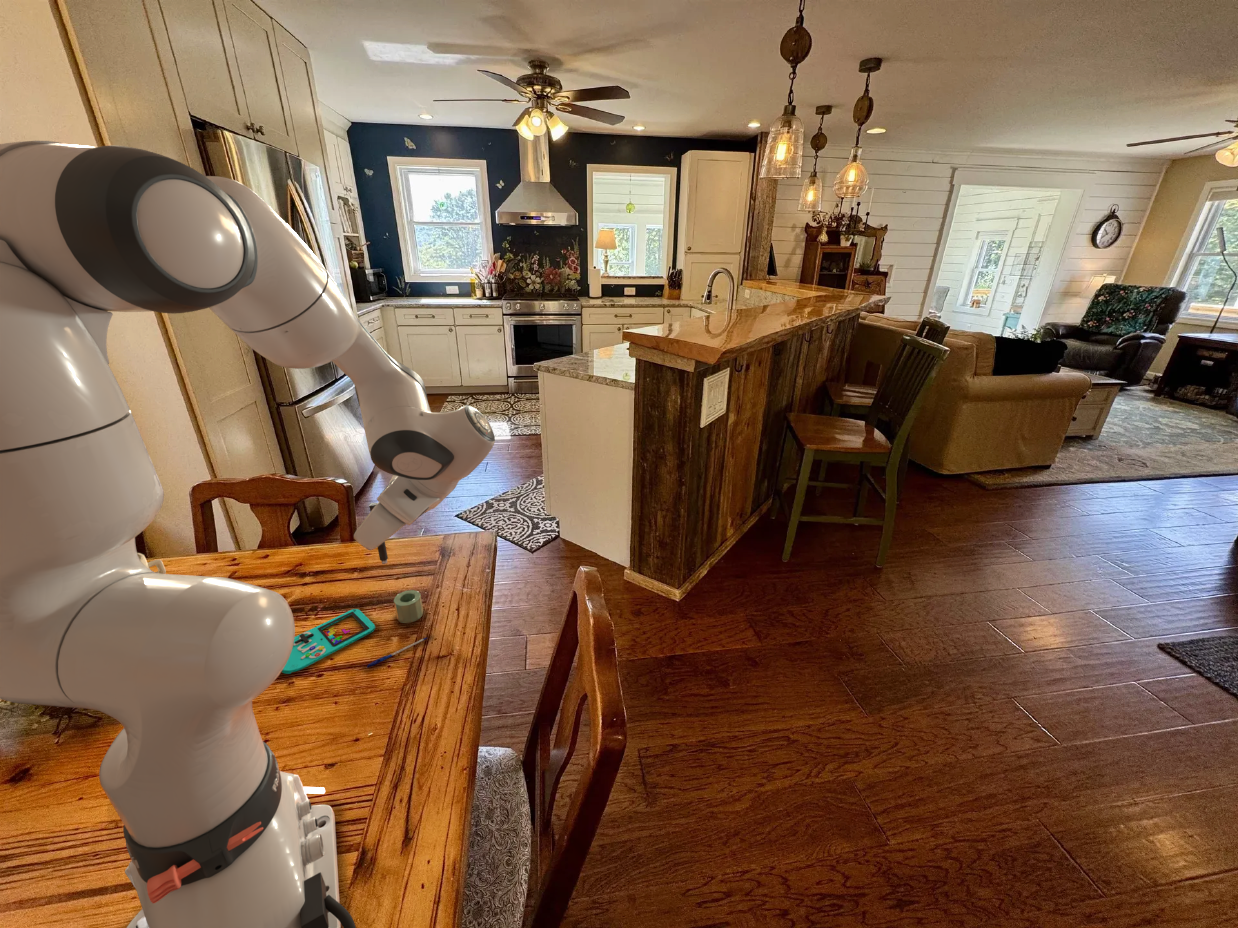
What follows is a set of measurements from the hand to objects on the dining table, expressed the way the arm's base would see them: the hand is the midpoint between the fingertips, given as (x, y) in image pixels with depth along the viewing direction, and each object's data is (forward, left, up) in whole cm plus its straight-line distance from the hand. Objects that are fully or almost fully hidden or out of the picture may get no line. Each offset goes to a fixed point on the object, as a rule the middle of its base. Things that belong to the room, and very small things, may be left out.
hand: (375, 530), depth 86 cm
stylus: (0, 0, -7) cm, 7 cm away
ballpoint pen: (-10, +2, -19) cm, 22 cm away
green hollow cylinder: (-2, -3, -19) cm, 19 cm away
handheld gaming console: (+1, +11, -19) cm, 22 cm away
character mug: (+28, +35, -19) cm, 49 cm away
